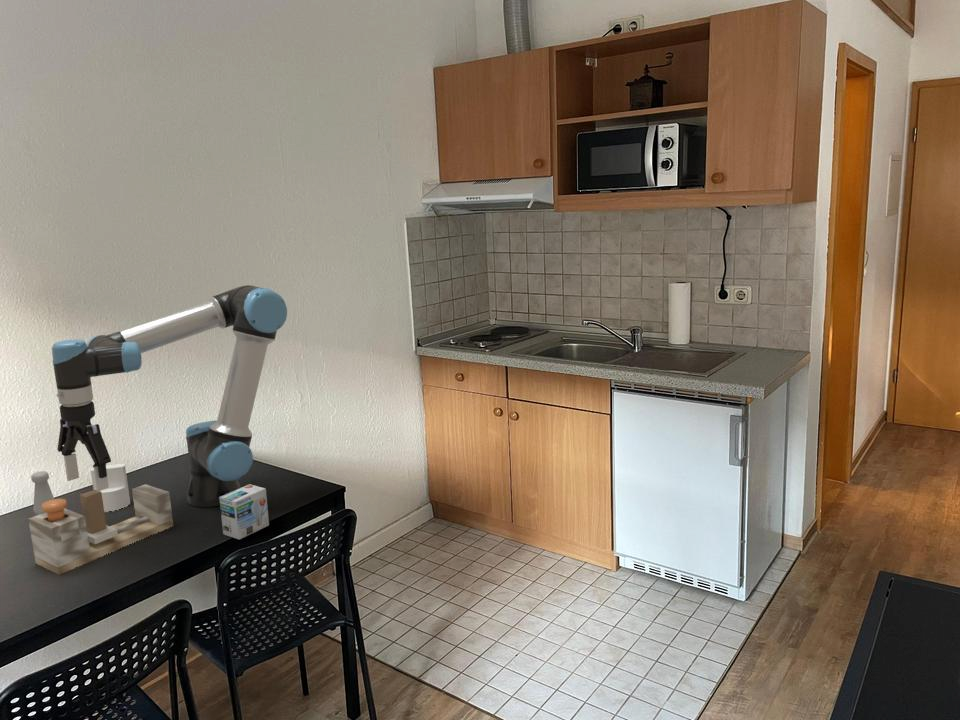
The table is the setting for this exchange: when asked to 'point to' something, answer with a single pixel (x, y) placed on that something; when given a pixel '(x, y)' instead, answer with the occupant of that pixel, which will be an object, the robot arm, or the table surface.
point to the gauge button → (54, 509)
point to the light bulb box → (244, 511)
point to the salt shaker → (41, 491)
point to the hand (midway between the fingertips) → (87, 484)
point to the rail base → (68, 537)
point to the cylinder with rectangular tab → (114, 488)
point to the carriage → (95, 517)
